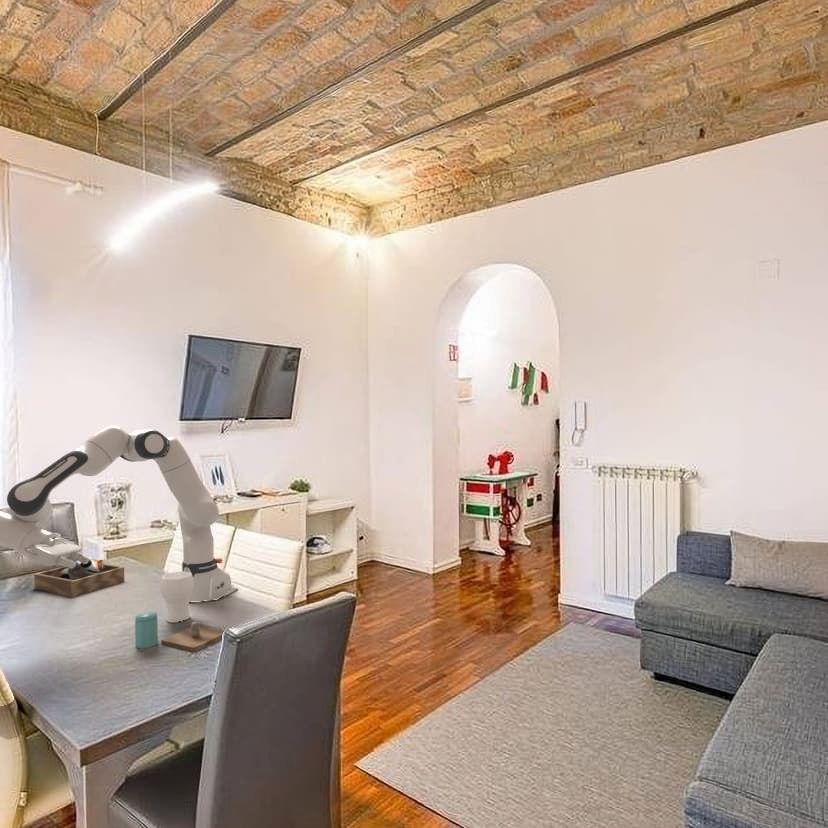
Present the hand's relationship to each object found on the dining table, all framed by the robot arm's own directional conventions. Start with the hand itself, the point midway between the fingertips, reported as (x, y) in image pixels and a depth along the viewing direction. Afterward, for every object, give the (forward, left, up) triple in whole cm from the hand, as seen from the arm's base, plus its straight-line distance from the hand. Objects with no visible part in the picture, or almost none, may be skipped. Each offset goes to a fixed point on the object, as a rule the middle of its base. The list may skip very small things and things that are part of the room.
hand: (81, 563), depth 181 cm
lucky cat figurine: (-41, -62, -26) cm, 78 cm away
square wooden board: (-18, +28, -25) cm, 42 cm away
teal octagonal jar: (-9, +17, -25) cm, 32 cm away
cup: (-29, +8, -26) cm, 40 cm away
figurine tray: (-40, -61, -25) cm, 77 cm away
